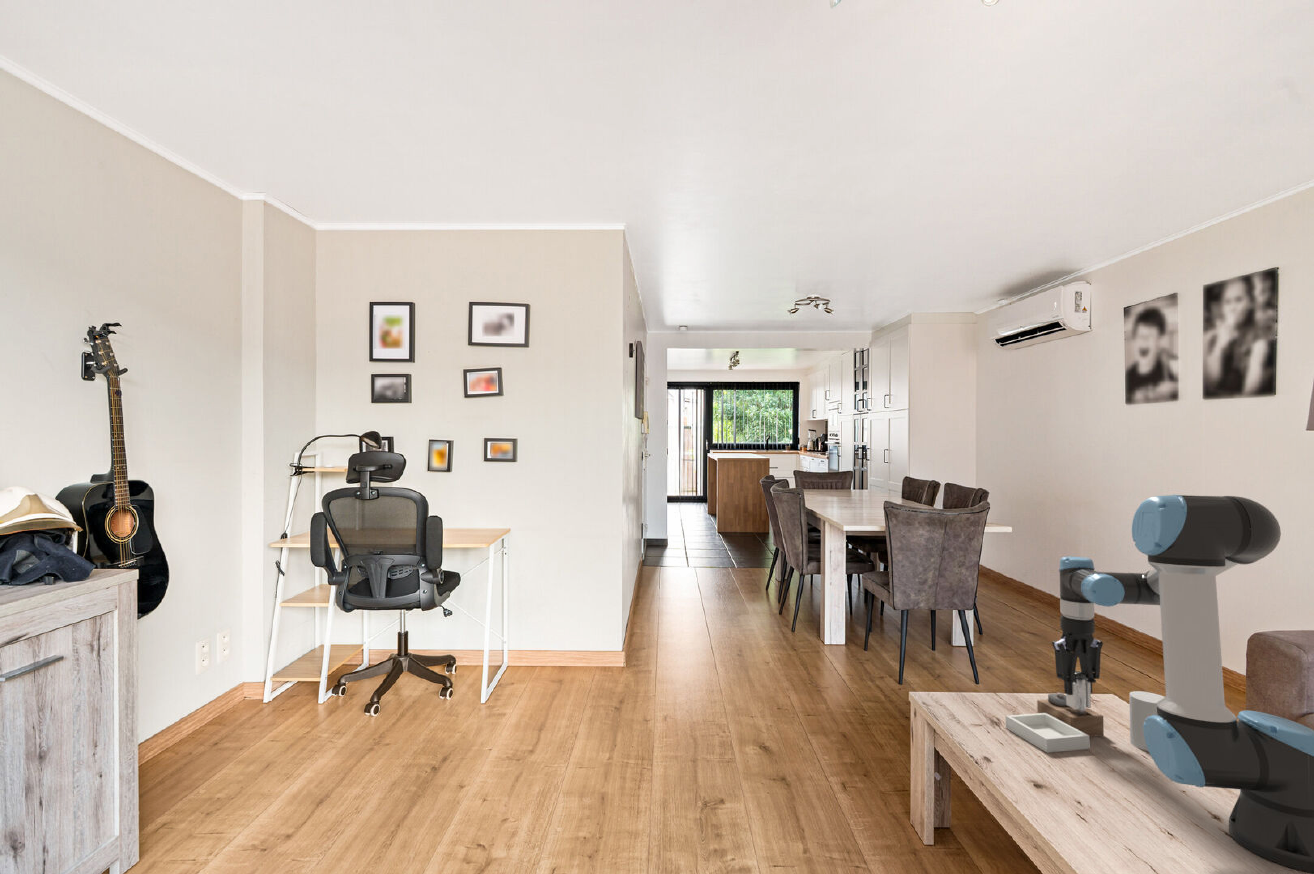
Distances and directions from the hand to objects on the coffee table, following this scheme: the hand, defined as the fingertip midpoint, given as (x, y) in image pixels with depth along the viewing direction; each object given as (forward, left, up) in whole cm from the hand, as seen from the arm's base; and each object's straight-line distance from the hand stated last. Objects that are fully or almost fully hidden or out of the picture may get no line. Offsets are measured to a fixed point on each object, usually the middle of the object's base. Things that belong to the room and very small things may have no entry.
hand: (1078, 705), depth 165 cm
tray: (-2, +11, -7) cm, 13 cm away
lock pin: (0, 0, -7) cm, 7 cm away
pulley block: (+3, 0, -7) cm, 7 cm away
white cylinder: (-10, -11, -7) cm, 16 cm away
